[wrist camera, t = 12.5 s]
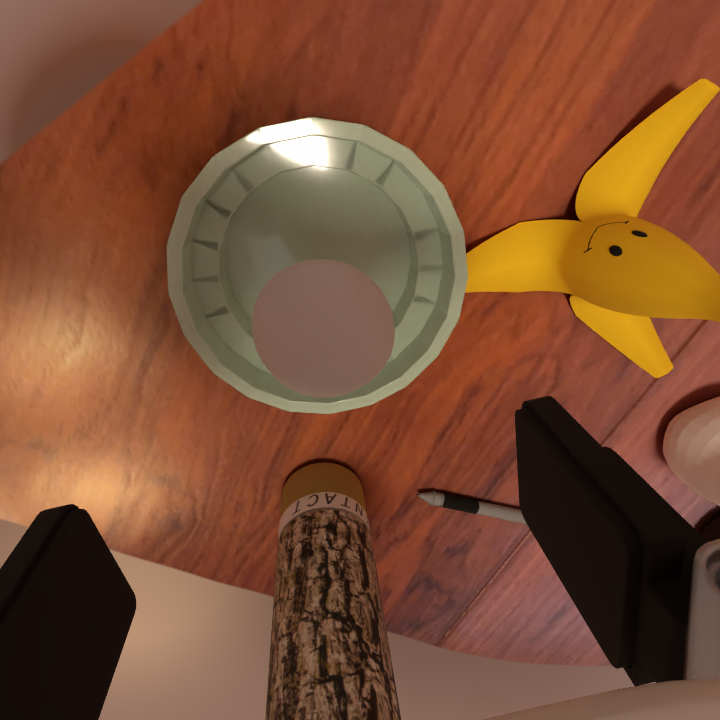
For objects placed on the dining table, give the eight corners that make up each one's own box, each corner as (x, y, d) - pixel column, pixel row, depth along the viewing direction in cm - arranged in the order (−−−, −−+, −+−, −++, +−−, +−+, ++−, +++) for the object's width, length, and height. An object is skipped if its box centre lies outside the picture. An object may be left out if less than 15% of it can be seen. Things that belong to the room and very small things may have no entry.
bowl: (152, 154, 29) (116, 156, 23) (424, 98, 29) (451, 87, 23) (234, 392, 36) (221, 437, 30) (452, 346, 36) (478, 382, 30)
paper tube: (351, 527, 42) (403, 974, 19) (274, 516, 41) (234, 985, 18) (372, 464, 40) (460, 896, 17) (290, 451, 38) (268, 901, 16)
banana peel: (422, 268, 33) (523, 375, 18) (672, 77, 30) (1061, 7, 14) (534, 423, 39) (678, 600, 24) (750, 281, 36) (1075, 382, 21)
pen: (571, 528, 45) (578, 538, 44) (410, 495, 41) (414, 505, 40) (578, 517, 44) (586, 528, 43) (416, 483, 41) (419, 493, 40)
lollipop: (252, 268, 31) (210, 366, 18) (308, 196, 30) (310, 241, 16) (326, 324, 33) (340, 450, 20) (382, 259, 32) (439, 347, 18)
